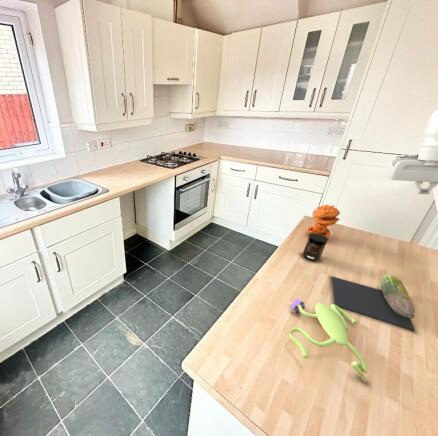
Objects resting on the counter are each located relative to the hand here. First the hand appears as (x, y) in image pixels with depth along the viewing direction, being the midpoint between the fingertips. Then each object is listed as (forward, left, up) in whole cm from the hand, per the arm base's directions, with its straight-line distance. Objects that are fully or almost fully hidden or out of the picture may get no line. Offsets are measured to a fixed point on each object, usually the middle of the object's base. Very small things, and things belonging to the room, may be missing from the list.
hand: (422, 193), depth 89 cm
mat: (+10, +32, -31) cm, 45 cm away
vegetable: (+4, +19, -28) cm, 34 cm away
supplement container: (+27, +13, -31) cm, 43 cm away
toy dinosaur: (+24, -7, -31) cm, 40 cm away
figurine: (+24, +56, -31) cm, 68 cm away
